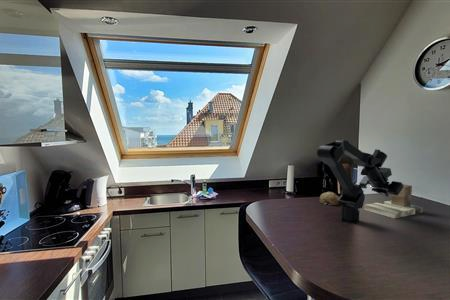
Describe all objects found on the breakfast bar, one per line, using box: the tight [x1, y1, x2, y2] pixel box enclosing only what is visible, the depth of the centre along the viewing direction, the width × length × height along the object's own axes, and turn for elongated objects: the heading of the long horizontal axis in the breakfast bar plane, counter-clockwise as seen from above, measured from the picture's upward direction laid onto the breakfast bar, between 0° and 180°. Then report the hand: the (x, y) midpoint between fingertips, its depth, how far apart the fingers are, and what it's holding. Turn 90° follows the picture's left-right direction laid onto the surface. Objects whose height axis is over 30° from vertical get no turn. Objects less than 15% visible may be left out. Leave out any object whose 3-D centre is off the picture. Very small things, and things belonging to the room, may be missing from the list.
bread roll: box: [319, 191, 340, 206], centre depth 147 cm, size 10×10×8 cm
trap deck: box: [363, 200, 424, 219], centre depth 134 cm, size 22×15×2 cm
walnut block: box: [390, 183, 413, 207], centre depth 136 cm, size 6×6×10 cm
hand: (387, 196), depth 131 cm, fingers closed
